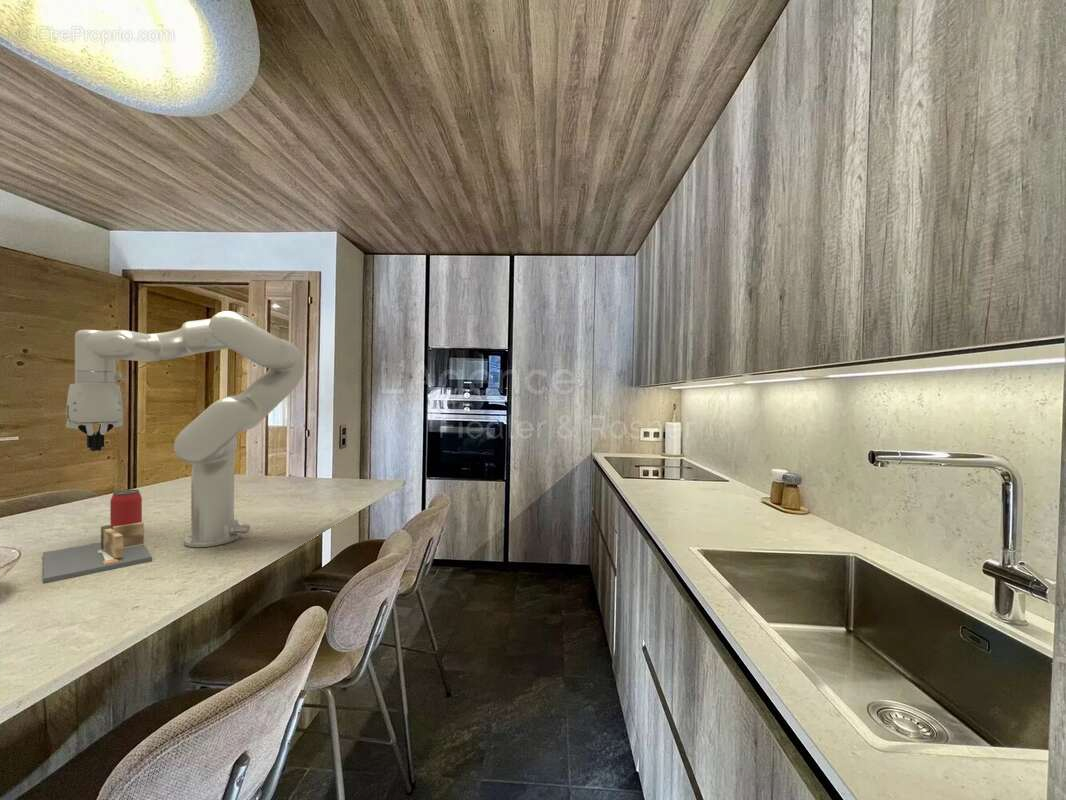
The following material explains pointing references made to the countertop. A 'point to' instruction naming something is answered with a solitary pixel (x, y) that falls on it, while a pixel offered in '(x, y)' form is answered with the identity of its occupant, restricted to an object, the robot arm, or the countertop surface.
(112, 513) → the beer can
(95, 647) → the countertop surface
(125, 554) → the card
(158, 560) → the countertop surface
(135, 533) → the bar
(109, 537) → the fence gate
